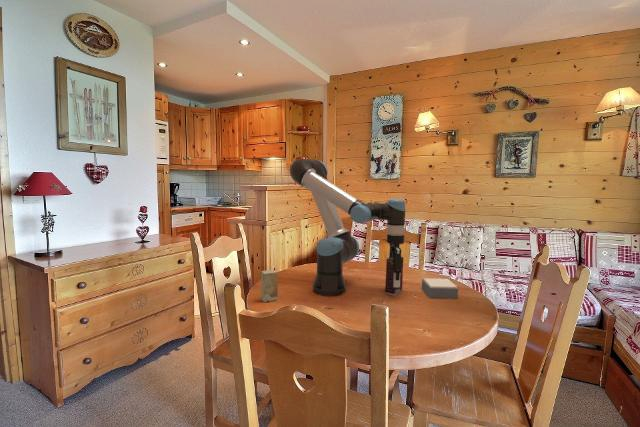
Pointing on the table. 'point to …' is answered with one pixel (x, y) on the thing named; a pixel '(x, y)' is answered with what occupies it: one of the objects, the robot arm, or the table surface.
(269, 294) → the skincare box
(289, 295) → the table surface
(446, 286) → the platform
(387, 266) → the supplement box
